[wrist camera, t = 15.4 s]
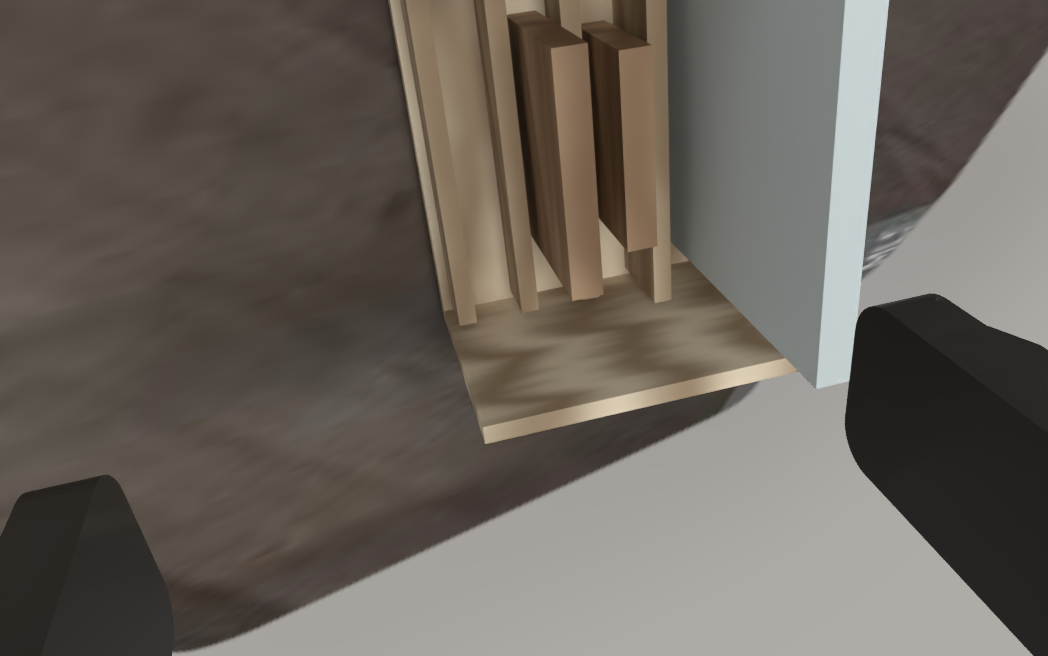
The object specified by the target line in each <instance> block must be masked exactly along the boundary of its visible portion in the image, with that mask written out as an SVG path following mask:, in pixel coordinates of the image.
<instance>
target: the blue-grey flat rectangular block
mask: <svg viewBox="0 0 1048 656" xmlns="http://www.w3.org/2000/svg"><path fill="white" fill-rule="evenodd" d="M888 5H889V0H667V61H668V121H669V182H670V241H671V242H672V243H673V244H674V245H675V247H676V248H677V249H678V250H679V251H680V252H681V253H682V254H683V255H684V256H685V257H686V258H687V259H688V260H689V261H690V262H691V263H692V264H693V265H694V266H695V267H696V268H697V269H698V270H699V271H700V272H701V273H702V274H703V275H704V276H705V277H706V278H707V279H708V280H709V281H710V282H711V283H712V284H713V285H714V286H715V287H716V288H717V289H718V290H719V291H720V292H721V293H722V294H723V295H724V296H725V297H726V298H727V299H728V300H729V301H730V302H731V303H732V304H733V305H734V306H735V307H736V308H737V309H738V310H739V311H740V312H741V313H742V314H743V315H744V316H745V318H746V319H747V320H748V321H749V322H750V323H751V324H752V325H753V326H754V327H755V328H756V329H757V330H758V331H759V332H760V333H761V334H762V335H763V336H764V337H765V338H766V339H767V340H768V341H769V342H770V343H771V344H772V345H773V346H774V347H775V348H776V349H777V350H778V351H779V352H780V353H781V354H782V355H783V356H784V357H785V358H786V359H787V360H788V361H789V362H790V363H791V364H792V365H793V366H794V367H795V368H796V369H797V370H798V371H799V372H800V373H801V374H802V375H803V376H804V377H805V378H806V379H807V380H808V381H809V382H810V383H811V384H812V385H813V386H814V387H815V388H816V389H819V388H823V387H827V386H831V385H835V384H839V383H843V382H847V381H849V379H850V371H851V362H852V353H853V344H854V335H855V328H856V323H857V315H858V305H859V295H860V285H861V275H862V265H863V255H864V245H865V235H866V225H867V215H868V205H869V195H870V185H871V175H872V165H873V155H874V145H875V135H876V125H877V115H878V105H879V95H880V85H881V75H882V65H883V55H884V45H885V35H886V25H887V15H888Z"/></svg>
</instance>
